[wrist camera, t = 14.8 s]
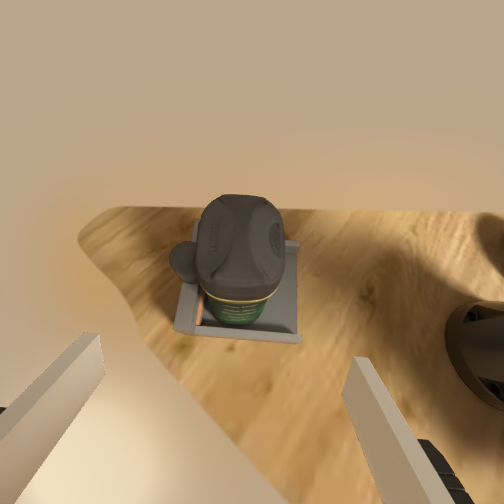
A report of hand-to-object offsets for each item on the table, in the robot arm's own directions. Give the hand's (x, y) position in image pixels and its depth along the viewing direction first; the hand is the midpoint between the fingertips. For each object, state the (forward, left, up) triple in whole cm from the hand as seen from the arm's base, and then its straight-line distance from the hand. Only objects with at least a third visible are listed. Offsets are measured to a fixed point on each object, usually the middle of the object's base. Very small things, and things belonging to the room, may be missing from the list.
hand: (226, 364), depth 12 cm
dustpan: (-1, -10, -22) cm, 24 cm away
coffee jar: (0, -9, -21) cm, 23 cm away
